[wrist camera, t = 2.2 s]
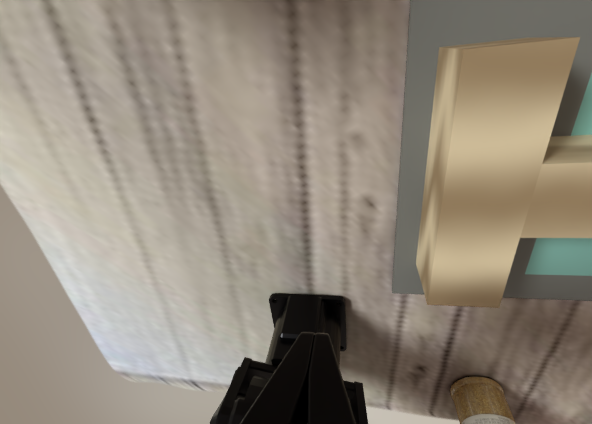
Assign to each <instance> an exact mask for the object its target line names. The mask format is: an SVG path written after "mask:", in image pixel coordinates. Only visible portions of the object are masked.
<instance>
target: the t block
mask: <svg viewBox="0 0 592 424" xmlns="http://www.w3.org/2000/svg"><path fill="white" fill-rule="evenodd" d="M579 40H580V37H544V38H520V39H510V40H501V41H492V42H483V43H474V44H464V45H455V46H446V47H439V54H438V63H437V72H436V82H435V91H434V100H433V110H432V119H431V128H430V137H429V147H428V156H427V165H426V174H425V184H424V193H423V202H422V212H421V221H420V230H419V239H418V249H417V258H416V266H417V269H418V273H419V276H420V280H421V284H422V287H423V291H424V294H425V298H426V301H427V305H448V306H470V307H493V308H499V306H500V303H501V300H502V296H503V293H504V290H505V286H506V283H507V280H508V276H509V273H510V270H511V266H512V263H513V260H514V256H515V253H516V250H517V246H518V243H519V240H520V238H592V135H574V136H555V137H550V136H551V133H552V130H553V126H554V123H555V120H556V117H557V113H558V110H559V107H560V103H561V100H562V97H563V93H564V90H565V87H566V83H567V80H568V77H569V73H570V70H571V67H572V63H573V60H574V57H575V53H576V50H577V47H578V43H579Z"/></svg>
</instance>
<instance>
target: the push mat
mask: <svg viewBox="0 0 592 424" xmlns="http://www.w3.org/2000/svg"><path fill="white" fill-rule="evenodd" d="M544 37H580V40H579V43H578V47H577V50H576V53H575V57H574V60H573V63H572V67H571V70H570V73H569V77H568V80H567V83H566V87H565V90H564V93H563V97H562V100H561V103H560V107H559V110H558V113H557V117H556V120H555V123H554V126H553V130H552V133H551V136H550V137H555V136H574V135H592V0H410V14H409V29H408V45H407V61H406V77H405V93H404V108H403V124H402V140H401V156H400V171H399V187H398V203H397V219H396V235H395V250H394V266H393V282H392V293H399V294H424V291H423V287H422V284H421V280H420V276H419V273H418V269H417V266H416V258H417V249H418V239H419V230H420V221H421V212H422V202H423V193H424V184H425V174H426V165H427V156H428V147H429V137H430V128H431V119H432V110H433V100H434V91H435V82H436V72H437V63H438V54H439V47H446V46H455V45H464V44H474V43H483V42H492V41H501V40H510V39H520V38H544ZM502 297H505V298H531V299H557V300H584V301H592V238H520V240H519V243H518V246H517V250H516V253H515V256H514V260H513V263H512V266H511V270H510V273H509V276H508V280H507V283H506V286H505V290H504V293H503V296H502Z"/></svg>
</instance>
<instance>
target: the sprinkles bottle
mask: <svg viewBox="0 0 592 424" xmlns="http://www.w3.org/2000/svg"><path fill="white" fill-rule="evenodd" d="M450 394H451V397H452V399H453V401H454V403H455V407H456V410H457V414H458V418H459V421H460V424H516V423H515V420H514V418H513V416H512V413H511V411H510V409H509V406H508V404H507V401H506V399H505V396H504V391H503V389H502V387H501V386H500V385H499V384H498V383H497V382H495V381H494V380H492V379H489V378H484V377H466V378H462V379H460V380H458V381H456V382H455V383H454V384H453V385H452V386H451V389H450Z"/></svg>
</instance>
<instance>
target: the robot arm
mask: <svg viewBox="0 0 592 424" xmlns="http://www.w3.org/2000/svg"><path fill="white" fill-rule="evenodd" d="M274 299H276V300H274ZM338 302H341V303H338ZM269 303H270V308H271V313H272V318H273V323H274V328H275V329H274V333H273V337H272V340H271V344H270V348H269V352H268V355H267V359H266V363H262V362H258V361H253V360H252V359H250V358H246V357H245V358H244V360H243V362H242V364H241V367H238V369H237V370H236V371H235V373H234V376H233V379H232V382H231V385H230V387H229V389H228V391H227V393H226V396H225V397H224V399H223V401H222V402H221V404H220V406H219V407H218V409H217V410H216V412H215V413H214V415H213V417H212V419H211V421H210V424H368V420H367V413H366V406H365V398H364V391H363V384H362V383H359V382H354V383H353V382H348V381H344V380H343V379H342V376H341V372H340V369H339V364H340V351H345V350H346V347H347V343H346V316H345V299H344V298H343V297H340V296H322V295H297V294H272V295H271V296H270V298H269Z"/></svg>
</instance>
